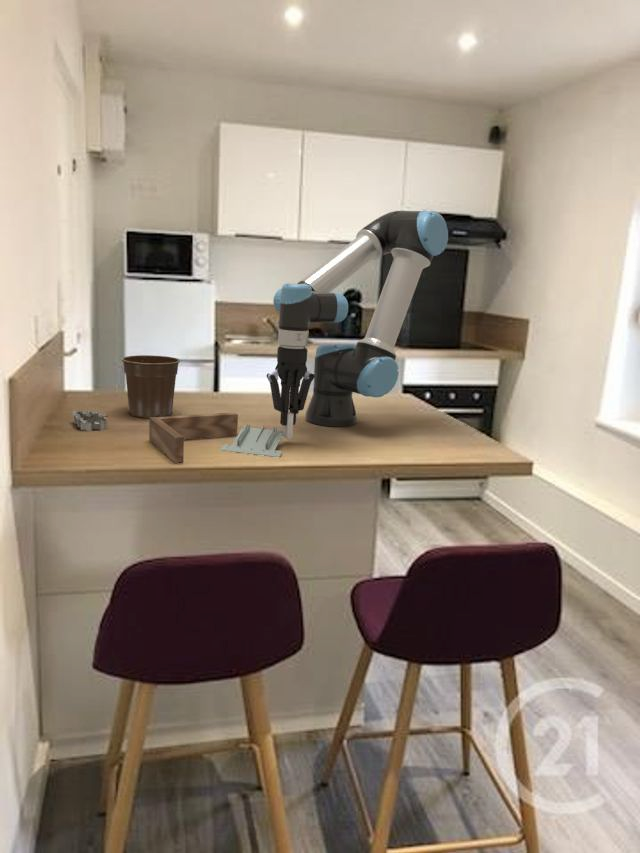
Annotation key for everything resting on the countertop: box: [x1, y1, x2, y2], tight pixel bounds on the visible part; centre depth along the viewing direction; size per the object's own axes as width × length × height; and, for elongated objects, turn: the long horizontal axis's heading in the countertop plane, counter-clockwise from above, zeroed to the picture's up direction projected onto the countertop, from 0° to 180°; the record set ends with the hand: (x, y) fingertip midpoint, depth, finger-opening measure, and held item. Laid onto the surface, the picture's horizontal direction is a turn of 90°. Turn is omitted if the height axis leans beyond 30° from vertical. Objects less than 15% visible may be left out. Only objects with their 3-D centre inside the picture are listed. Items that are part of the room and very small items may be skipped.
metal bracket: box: [219, 423, 284, 458], centre depth 172 cm, size 14×6×15 cm
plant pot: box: [121, 354, 181, 419], centre depth 198 cm, size 16×16×16 cm
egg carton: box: [72, 409, 109, 432], centre depth 182 cm, size 11×8×4 cm
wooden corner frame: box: [148, 412, 239, 464], centre depth 169 cm, size 23×20×6 cm
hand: (287, 437), depth 178 cm, fingers closed
